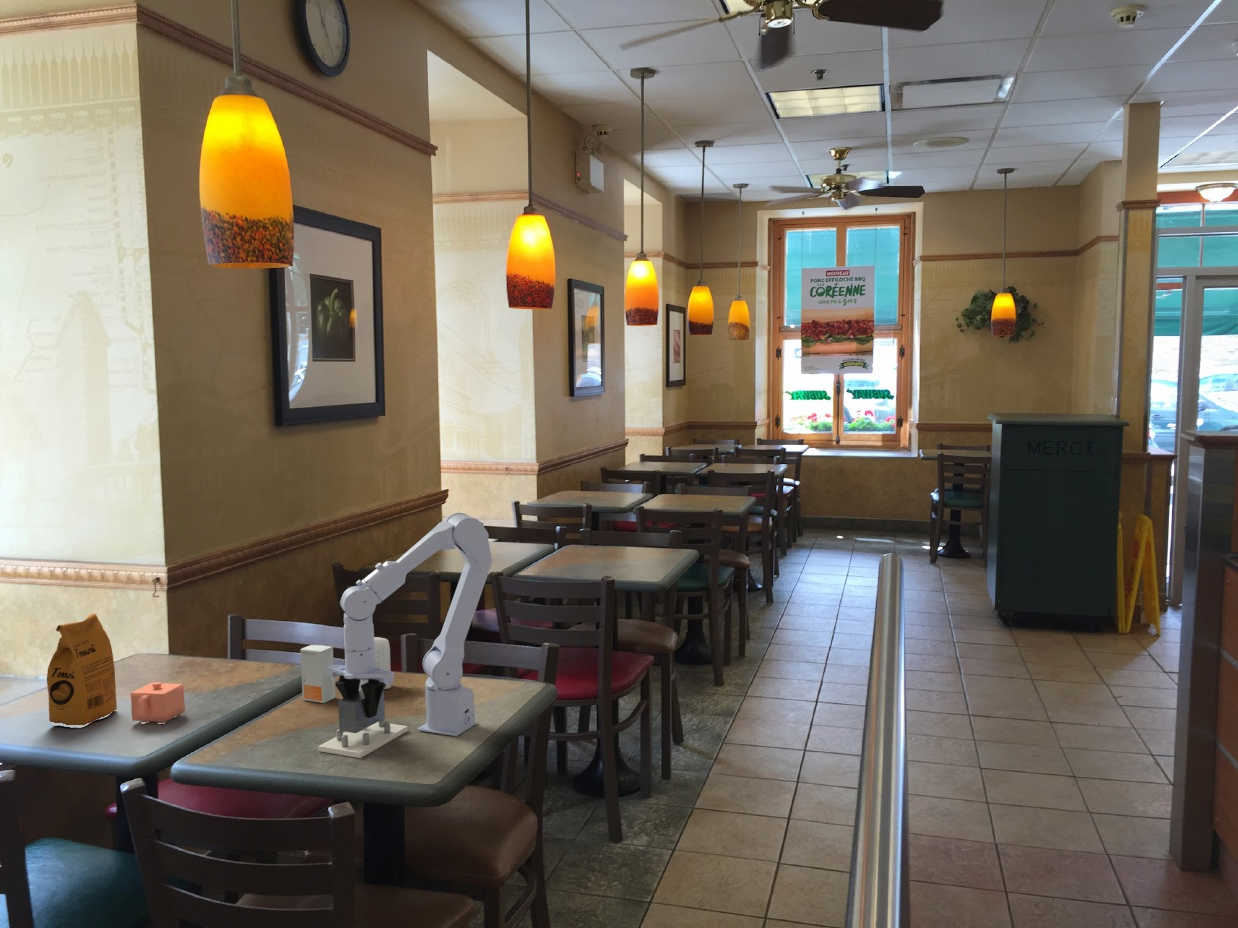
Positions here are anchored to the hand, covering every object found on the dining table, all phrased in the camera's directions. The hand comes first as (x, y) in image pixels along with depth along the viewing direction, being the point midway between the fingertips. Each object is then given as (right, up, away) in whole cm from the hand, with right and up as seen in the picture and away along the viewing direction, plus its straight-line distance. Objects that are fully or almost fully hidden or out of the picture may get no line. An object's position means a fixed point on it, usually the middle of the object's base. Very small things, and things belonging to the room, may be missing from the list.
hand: (362, 714), depth 190 cm
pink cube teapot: (-48, -5, +16) cm, 51 cm away
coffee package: (-65, -6, +17) cm, 67 cm away
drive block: (0, -2, 0) cm, 2 cm away
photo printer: (-7, -3, +32) cm, 33 cm away
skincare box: (-17, -4, +26) cm, 32 cm away
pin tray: (0, -5, 0) cm, 5 cm away
